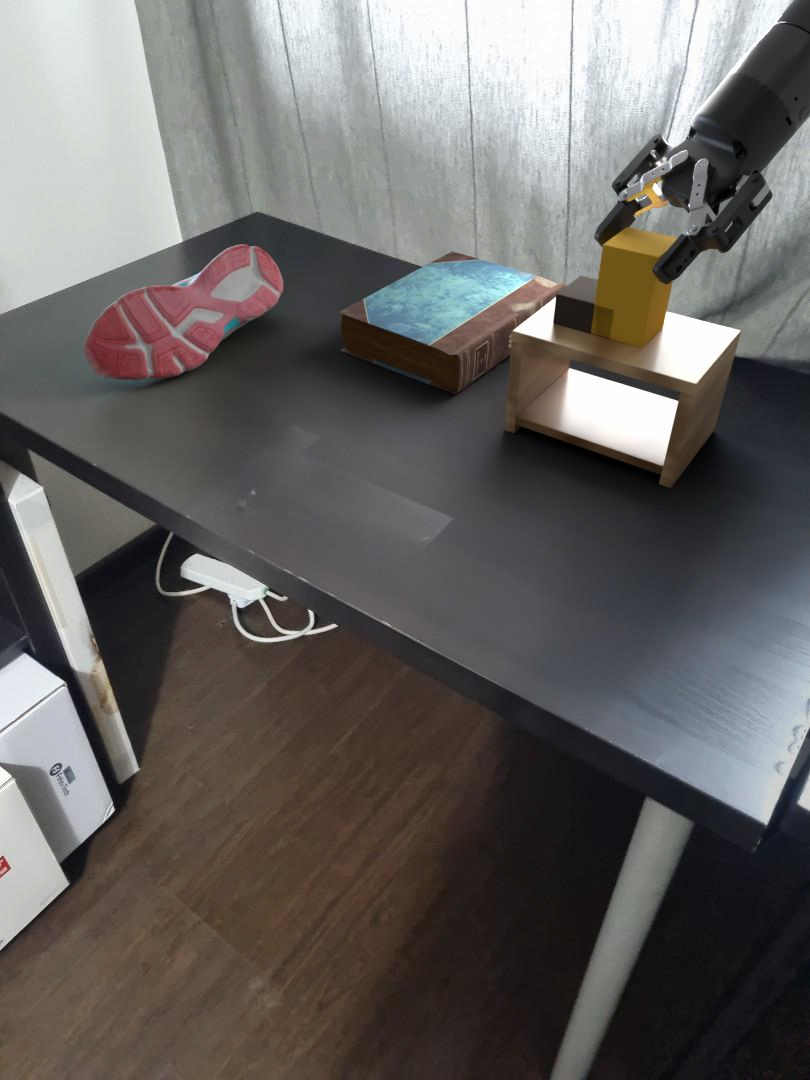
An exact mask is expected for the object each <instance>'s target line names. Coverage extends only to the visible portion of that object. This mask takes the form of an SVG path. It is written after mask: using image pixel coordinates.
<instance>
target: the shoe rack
mask: <svg viewBox="0 0 810 1080" xmlns="http://www.w3.org/2000/svg"><path fill="white" fill-rule="evenodd" d="M555 301H556V297H555V298H554V299H553V300H552V301H550V302H549V303H548V304H546V305H545V306H544V307H543V308H541V309H540V310H539V311H537V312H536V313H535V314H534V315H532V316H531V317H530V318H528V319H527V320H526V321H525V322H523V323H522V324H521V325H519V326H518V327H517V328H516V329H514V330H513V331H512V343H511V355H510V356H509V367H508V369H509V370H508V382H507V394H506V407H505V422H504V431H506V432H509V433H512V434H515V433H517V432H518V431H519V430H520V429H521V428H524V429H527V430H530V431H534V432H536V433H539V434H542V435H545V436H547V437H550V438H554V439H557V440H560V441H562V442H565V443H568V444H571V445H574V446H576V447H580V448H583V449H586V450H588V451H591V452H594V453H597V454H600V455H602V456H606V457H608V458H611V459H614V460H617V461H620V462H623V463H625V464H629V465H632V466H634V467H636V468H640V469H643V470H646V471H649V472H651V473H654V474H657V475H660V478H659V482H658V484H659V485H660V486H662V487H665V488H669V489H672V487H674V485H675V483H676V482H677V481H678V480H679V478H680V476H681V475H682V474H683V472H685V470H686V469H687V467H688V466H689V464H690V463H691V462H692V461H693V459H694V458H695V457H696V455H697V454H698V452H699V451H700V450H701V448H703V446H704V445H705V443H706V442H707V441H708V439H709V438H710V437H711V435H712V434H713V433H714V431H715V429H716V426H717V422H718V418H719V415H720V411H721V406H722V404H723V399H724V396H725V392H726V389H727V386H728V382H729V378H730V375H731V371H732V366H733V363H734V360H735V355H736V352H737V349H738V345H739V341H740V338H741V333H742V330H740V329H736V328H733V327H728V326H725V325H721V324H717V323H712V322H709V321H705V320H701V319H698V318H693V317H689V316H686V315H681V314H678V313H674V312H670V311H667V312H666V317H665V321H664V326H663V328H662V329H660V330H659V331H658V332H657V333H656V334H655V335H654V336H653V337H652V338H651V339H650V340H649V341H648V342H647V343H646V344H645V345H644V346H643V347H642V348H640V347H636V346H632V345H629V344H625V343H622V342H618V341H615V340H611V339H607V338H604V337H600V336H597V335H593V334H590V333H586V332H582V331H579V330H575V329H572V328H568V327H565V326H561V325H557V324H554V323H553V319H554V310H555ZM571 361H574V362H578V363H580V364H584V365H588V366H591V367H594V368H598V369H602V370H605V371H608V372H612V373H615V374H618V375H621V376H623V377H628V378H631V379H635V380H638V381H642V382H645V383H649V384H651V385H655V386H659V387H661V388H665V389H669V390H671V391H675V392H679V397H678V400H676V399H673V398H670V397H666V396H664V395H663V396H662V395H660V394H656V393H653V392H650V391H647V390H643V389H640V388H638V387H637V388H636V387H634V386H630V385H627V384H624V383H620V382H617V381H613V380H610V379H606V378H605V377H600V376H597V375H593V374H590V373H587V372H583V371H580V370H577V369H573V368H570V363H571Z"/></svg>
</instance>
